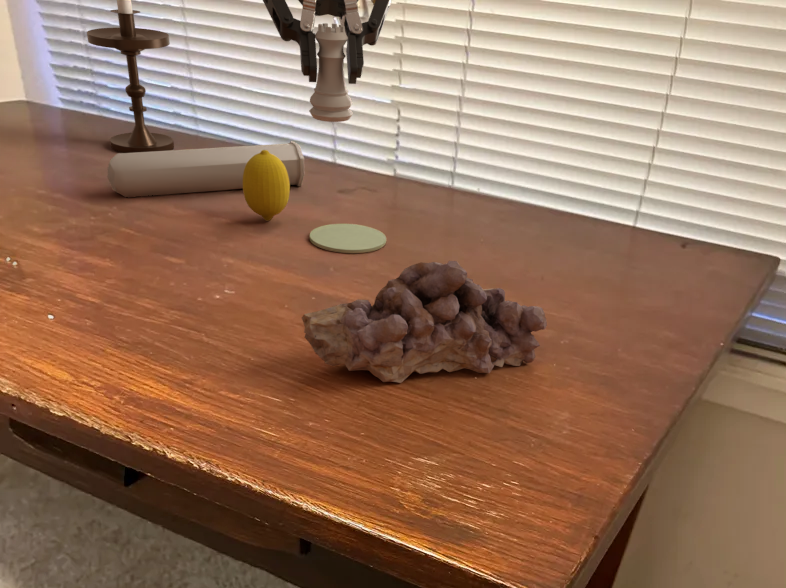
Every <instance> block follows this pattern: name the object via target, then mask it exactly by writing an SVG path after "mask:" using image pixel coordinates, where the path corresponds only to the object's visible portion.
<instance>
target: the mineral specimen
mask: <svg viewBox="0 0 786 588" xmlns="http://www.w3.org/2000/svg"><path fill="white" fill-rule="evenodd" d="M473 280H474V279H472V278H470V277H468V271H467V270H466V269H465V268H464V267H462V266H461V264H460V263H459V261H457V260H448V262H447V263H444V264H443V263H442V262H436V261H431V262H418V263H414V264H411V265H409V266H408V267H405V268H404V269H403V270H402V272H401V273H400V274H399V275H398V277H396V278H393V279H389V280H388V281H387V283H386V285H384V286H383V287H382V288H381V289H380V290H379V291H378V293H377V294H376V296H375V299H374V303H373V304H371V302H370V301H369V299H356V300H353V301H352V302H347V303H339V304H336V305H334V306H330V307H328V308H327V307H326V308H323V309H321V310H317V311H312V312H308V313H304V314H303V315H302V316H301V320H302V323H303V326H304V328H303V329H304V330H303V333H304V339H305V340H306V341H307V342H308V343H309V345H310V346H311V348H312V350H313V352H314V353H315V354H316V356H318V358H320V359H321V360H322V361H324V364H325V365H328V366H331V367H334V366H335V367H336V366H339V365H345V367H346V368H347V370H348V371H349V372H351V371H352V372H353V371H369V373H370V374H372V375H373V376H374V377H376V378H378V379H379V380H380V381H382V382H383V383H389V382H393V383H399V384H402V383H403V382H404V381H405V380H407V378H408V377H409V376H410V375H411V374H412V373H417V374H420V375H423V374H426V373H438V372H440V371H441V370H445V371H447V372H449V373H452V372H455V371H456V372H457V371H459V370H463V369H466V370H471V371H473V372H476V373H477V374H490V373H491V372H492V371H493V368H494V367H495V366H497V367H499V368H503V366H504V364H506V365H510V366H515V367H520V366H521V365H522V364H523V362H524V363H526V364H531V363H533V362H535V359H536V354H535V353H536V351H535V349H537V348H538V347H540V346H541V345H540V342H539V341H538V340H537V339H536V336H535V335H534V334H533V333H532V332H538V331H542V330H546V329H547V326H548V321H547V318H546V313H545V311H544V309H543V307H541V306H537V305H530V306H527V305H525V304H524V305H521V304H519V303H518V302H517V301H512V300H506V291H505V289H503V288H500V287H496V288H483V287H482V286H481V285H480V284H477V283H475V282H474V281H473ZM491 357H492V358H495V359H496V360H494V361H492V358H491Z"/></svg>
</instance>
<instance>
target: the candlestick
mask: <svg viewBox="0 0 786 588" xmlns="http://www.w3.org/2000/svg"><path fill="white" fill-rule="evenodd" d="M116 5H117V9H110V10H109V12H111V13H115V14H117V18H118V19H117V20H118V26H119V27H101V28H93V29H89V30H87V31H86V37H87V42H88V43H89V44H90V45H93V46H97V47H102V48H109V49H115V50H117V51H119V52H120V54H121V55H123V56H125V58H126V65H127V72H128V78H129V79H128V80H129V83H128V84H127V85H126V86H125V88H124V90H125V93H126V95H127V96H128V97H130V101H131V106H129V107H128V110H129V111H130V112H132V113H133V118H134V127H133V129H132V131H131V132H125V133H119V134H116V135H114V136H112V137H110V139H109V141H110V148H111V150H113V151H116V152H118V153H135V152H152V151H169V150H174V148H175V144H174V139H173V137H171V136H169V135H166V134H163V133H158V132H151V131H150V130H149V129H148V128H147V126H146V124H145V116H144V115H145V114H144V112H147V111H148V110H147V107H146V106H144V103H143V98H145V95H146V91H147V89H146V87H145V86H144V85H142V84H141V83H140V75H139V69H138V61H137V56H139V55H141V54H142V53H141V52H142V51H145V50H153V49H161V48H162V49H163V48H166V47H168V46H170V45H171V43H170V35H169V33H167V32H164V31H161V30H157V29H150V28H141V27H140V28H139V27H136V23H135V22H136V21H135V14H140V13H141V11H140V10H136V9H133V5H132V0H116Z"/></svg>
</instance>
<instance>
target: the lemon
mask: <svg viewBox="0 0 786 588" xmlns="http://www.w3.org/2000/svg"><path fill="white" fill-rule="evenodd" d="M242 191H243V197H244V200H245V202H246V204H247V206H248V207H249V208H250V210H251V211H253V212H254V213H255V214H256V215H259V216H260V217H261V218H262V219H263V220H264V221H266V222H268V221H271V220H272V219H273V218H274V217H275V216H277V215H279V214H281V212H283V211H284V209H286V207H287V205H288V202H289V199H290V191H291V185H290V184H289V177H288V173H287V170H286V168H285V166H284V164H283V163H282V161H281V160H280V159H279V158H278V157H276V156H275V155H273V154H270V153H269V152H268V150H262V151H261V152H260V153H258V154H256V155H254V156H253V157H252V158H251V159H250V160H249V161H248V162H247V164H246V166H245V169H244V173H243V189H242Z"/></svg>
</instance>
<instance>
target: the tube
mask: <svg viewBox="0 0 786 588" xmlns="http://www.w3.org/2000/svg"><path fill="white" fill-rule="evenodd" d="M262 150H268V152H269V153H270V154H273V155H275V156H276V157H278V158H279V159H280V160H281V161H282V163H283V164H284V166H285V168H286V170H287V173H288V177H289V184H290V186H291V185H292V186H293V185H295V186H297V187H302V185H303V181H304V178H305V157H304V154H303V151H302V148H301V146H300V144H298V143H297V142H296V141H294V140H290V142H289V143H288V142H287V143H275V144H274V143H273V144H257V145H255V144H254V145H240V146H239V145H238V146H223V147H221V146H220V147H205V148H189V149H172V150H169V151H152V152H135V153H122V152H118V153H116V154H115V155H114V156H113V157H112V158H111V159H110V160H109V163H108V165H107V176H106V177H107V179H108V182H109V184H110V187H111V189H112V191H114V192H116V193H117V194H119V195H121V196H123V197H125V198H126V197H128V198H135V197H134V196H141V197H151V196H152V195H153V196H163V195H164V196H165V195H176V194H177V195H178V194H179V195H180V194H190V193H205V192H216V191H217V192H218V191H230V190H241V189H242V190H243V173H244V169H245V166H246V164H247V162H248V161H249V160H250V159H251V158H252V157H253V156H254V155H256V154H258V153H260V152H261V151H262ZM148 195H149V196H148Z"/></svg>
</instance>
